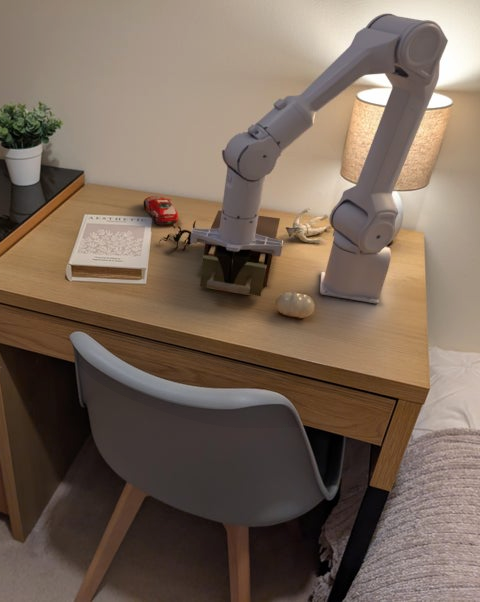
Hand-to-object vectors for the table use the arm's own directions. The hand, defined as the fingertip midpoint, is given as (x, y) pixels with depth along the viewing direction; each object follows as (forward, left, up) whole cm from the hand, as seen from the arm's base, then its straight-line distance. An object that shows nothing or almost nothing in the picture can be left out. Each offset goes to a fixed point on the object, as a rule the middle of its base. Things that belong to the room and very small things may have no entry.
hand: (229, 285), depth 97 cm
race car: (+20, -32, -4) cm, 38 cm away
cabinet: (0, -15, -3) cm, 15 cm away
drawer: (0, -7, -3) cm, 7 cm away
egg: (-11, 0, -3) cm, 12 cm away
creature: (+13, -18, -4) cm, 22 cm away
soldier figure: (-12, -32, -4) cm, 34 cm away
